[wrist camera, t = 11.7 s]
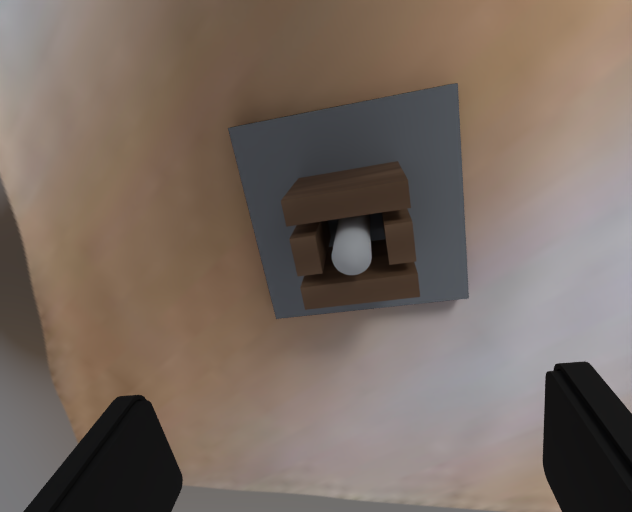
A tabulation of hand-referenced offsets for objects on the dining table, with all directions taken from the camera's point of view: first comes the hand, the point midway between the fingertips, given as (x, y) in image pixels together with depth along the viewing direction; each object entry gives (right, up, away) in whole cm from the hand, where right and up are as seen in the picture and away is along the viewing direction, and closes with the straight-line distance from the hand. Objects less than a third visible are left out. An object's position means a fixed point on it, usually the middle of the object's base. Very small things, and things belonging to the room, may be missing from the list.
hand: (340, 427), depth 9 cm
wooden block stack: (+2, +7, +17) cm, 18 cm away
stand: (+2, +7, +18) cm, 20 cm away
